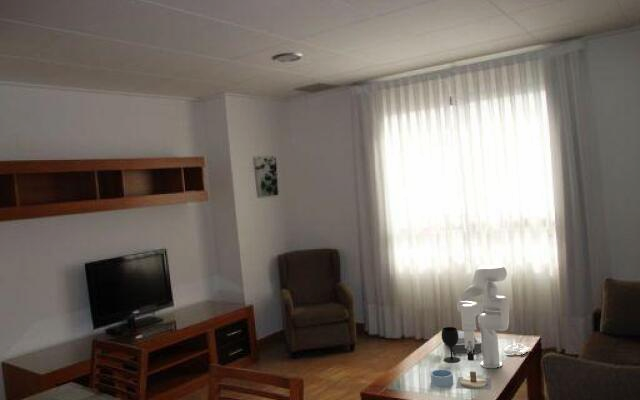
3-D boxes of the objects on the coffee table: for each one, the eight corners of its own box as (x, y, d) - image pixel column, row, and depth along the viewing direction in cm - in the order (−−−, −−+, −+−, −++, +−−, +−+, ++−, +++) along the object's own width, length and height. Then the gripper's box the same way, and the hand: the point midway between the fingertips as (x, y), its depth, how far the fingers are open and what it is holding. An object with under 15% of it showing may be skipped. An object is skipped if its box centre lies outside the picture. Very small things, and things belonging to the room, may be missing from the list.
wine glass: (442, 362, 330) (440, 331, 329) (444, 357, 340) (441, 326, 339) (460, 363, 327) (457, 331, 326) (460, 357, 337) (458, 326, 336)
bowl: (432, 379, 305) (432, 369, 304) (454, 380, 301) (453, 369, 301) (430, 387, 293) (429, 376, 293) (452, 388, 289) (451, 377, 289)
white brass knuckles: (520, 358, 326) (499, 354, 337) (534, 350, 338) (512, 347, 349) (520, 353, 326) (498, 349, 337) (533, 345, 338) (512, 342, 349)
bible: (445, 354, 345) (444, 340, 345) (445, 342, 371) (443, 328, 371) (482, 354, 340) (481, 339, 340) (479, 341, 366) (478, 327, 366)
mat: (458, 378, 303) (458, 377, 303) (491, 379, 297) (490, 378, 297) (456, 389, 288) (455, 388, 288) (490, 390, 282) (490, 389, 282)
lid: (461, 378, 301) (460, 367, 301) (487, 378, 297) (486, 368, 297) (459, 387, 288) (458, 376, 288) (486, 388, 284) (485, 377, 283)
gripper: (463, 322, 301) (465, 352, 301) (461, 330, 284) (463, 362, 285) (476, 322, 298) (478, 352, 298) (475, 331, 282) (477, 362, 282)
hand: (471, 357), depth 292 cm, fingers open, 9 cm apart
